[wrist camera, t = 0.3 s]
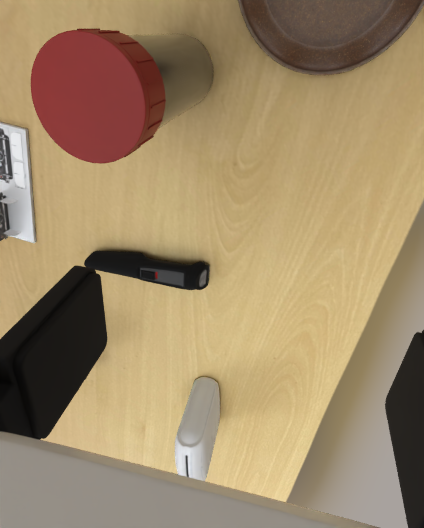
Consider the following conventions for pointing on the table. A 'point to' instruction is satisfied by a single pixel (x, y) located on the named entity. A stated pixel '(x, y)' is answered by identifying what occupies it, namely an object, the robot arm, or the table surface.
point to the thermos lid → (97, 93)
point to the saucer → (327, 31)
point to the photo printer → (198, 429)
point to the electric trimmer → (151, 269)
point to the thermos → (179, 70)
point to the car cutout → (16, 184)
